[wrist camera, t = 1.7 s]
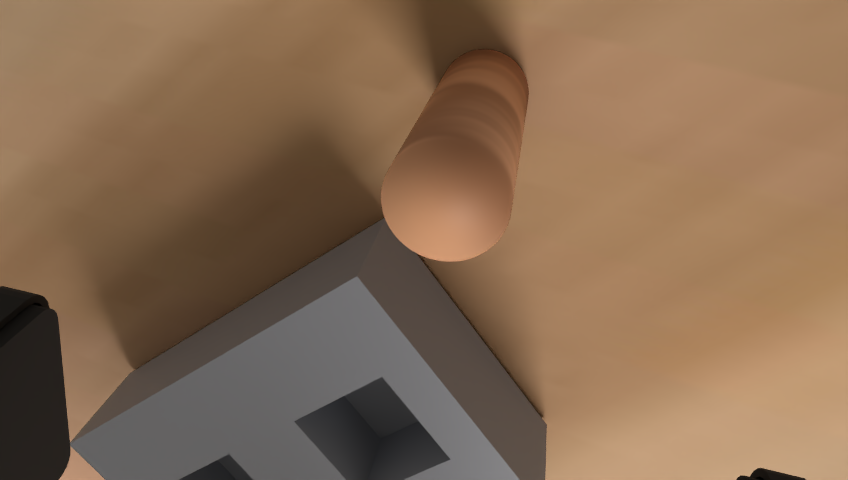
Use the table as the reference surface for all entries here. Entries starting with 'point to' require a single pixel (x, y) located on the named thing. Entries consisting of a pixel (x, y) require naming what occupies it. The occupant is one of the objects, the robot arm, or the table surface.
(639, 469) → the table surface
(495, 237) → the dowel
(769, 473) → the robot arm
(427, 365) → the bore block
